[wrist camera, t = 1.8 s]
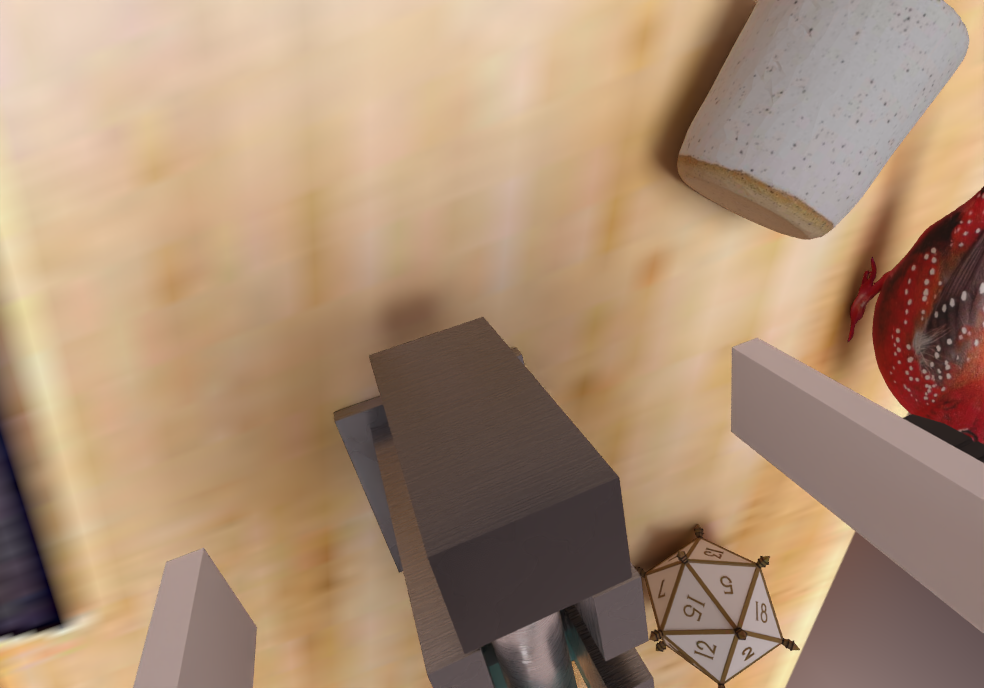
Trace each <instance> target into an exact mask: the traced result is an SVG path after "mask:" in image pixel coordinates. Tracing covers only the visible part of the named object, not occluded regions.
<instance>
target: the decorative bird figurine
mask: <svg viewBox="0 0 984 688" xmlns="http://www.w3.org/2000/svg"><path fill="white" fill-rule="evenodd" d="M871 266H872V271H871V272H869V271H865V273H864V277H863V280H862V284H861V287H860V288H859V293H858V295H857V297H856V298H855V300H854V302H853V303H852V305H851V309H850V317H851V328H850V334H849V338H848V341H847V342H849V341H850V340H851V339H852V337H853V334H854V328H855V324H856V323H857V322H858V320H860V319H861V318H862V317H863V314H864V311H865V308H866V305H867V303H868V302H869V300H871V299H872V298H873V297H874V296H875V295H876V294H877V293H879V292H880V294H879V296H878V299H877V302H876V305H875V311H874V318H873V332H872V337H873V345H874V350H875V356H876V360H877V364H878V367H879V369H880V372H881V374H882V376H883V378H884V380H885V382H886V384H887V386H888V388H889V389H890V391H891V392H892V394H893V395H894V396H895V398H896V399H897V400H898V401H899V403H900V404H901V405H902V406H903V407H904V408H905V409H906V410H907V411H908V412H909V413H911V414H914V415H918V416H921V417H924V418H928V419H931V420H934V421H938V422H941V423H944V424H946V425H948V426H950V427H952V428H954V429H956V430H958V431H960V432H961V433H963V434H965V435H967V436H969V437H971V438H972V440H973V441H974V442H977V441H979V442H980V443H982V444H984V187H983V188H982V189H981V190H980V191H978V192H977V193H976V194H975V195H974V196H973V197H972V198H971V199H970V200H968V201H967V202H966V203H965V204H963V205H961V206H960V207H958V208H957V209H956V210H955V211H953V212H951V213H950V214H948V215H946V216H945V217H944V218H942V219H941V220H939V221H937V222H936V223H934V224H933V225H931V226H930V227H929V228H927V229H926V230H925V231H924V232H923V234H922V235H921V236H920V237H919V239H918V240H917V242H916V243H915V244H914V246H913V247H912V248H911V250H910V251H909V252H908V253H907V255H906V256H905V257H904V258H903V259H902V260H901V261H900V262H899V263H898V264H897V265H896V266H895V267H894V268H893V269H892V270H891V271H889V272H887V273H886V274H884V275H883V277H881V279H880V280H878V281H877V282H876V283H874V282H873V281H874V279H875V277H876V265H875V262H874V259H873V257H872V259H871ZM869 273H871V274H870V276H869V279H867V277H868V274H869ZM873 283H874V285H873Z"/></svg>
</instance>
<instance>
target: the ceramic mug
mask: <svg viewBox="0 0 984 688" xmlns="http://www.w3.org/2000/svg"><path fill="white" fill-rule="evenodd" d="M968 45H969V36H968V31H967V29H966V26H965V24H964V23H963V22H962V21H961V17H960V16H959V15H958V14H957V13H956V12H955V10H954V9H953V8H952V7H950V6H949V5H948V4H946V3H945V2H944V1H943V0H758V1H757V3H756V5H755V7H754V9H753V11H752V13H751V15H750V17H749V18H748V20H747V22H746V24H745V26H744V27H743V29H742V31H741V33H740V35H739V36H738V38H737V40H736V42H735V44H734V46H733V48H732V50H731V51H730V53H729V55H728V57H727V59H726V61H725V63H724V65H723V66H722V68H721V70H720V72H719V74H718V76H717V78H716V80H715V82H714V84H713V86H712V87H711V89H710V91H709V93H708V95H707V97H706V98H705V100H704V102H703V104H702V105H701V107H700V109H699V110H698V112H697V114H696V116H695V117H694V119H693V121H692V123H691V125H690V127H689V129H688V131H687V134H686V136H685V139H684V142H683V144H682V147H681V149H680V152H679V156H678V161H677V168H678V173H679V175H680V177H681V179H682V180H683V181H684V182H685V183H686V184H687V185H688V186H690V187H691V188H692V189H694V190H695V191H697V192H698V193H700V194H701V195H703V196H705V197H706V198H708V199H710V200H712V201H713V202H715V203H717V204H719V205H721V206H722V207H724V208H726V209H728V210H730V211H732V212H734V213H736V214H738V215H740V216H742V217H744V218H746V219H748V220H750V221H753V222H755V223H757V224H759V225H762V226H764V227H766V228H769V229H771V230H774V231H776V232H779V233H781V234H785V235H788V236H792V237H796V238H800V239H813V238H817V237H822V236H824V235H825V234H827V233H828V232H829V231H830V230H832V229H833V228H834V227H835V226H836V225H837V224H838V223H839V222H840V221H841V220H842V219H843V218H844V217H845V216H846V215H847V214H848V213H849V212H850V211H851V209H852V208H853V207H854V206H855V205H856V204H857V203H858V201H859V200H860V199H861V198H862V196H863V195H864V194H865V192H866V191H867V190H868V188H869V187H870V185H871V184H872V183H873V181H874V180H875V178H876V177H877V176H878V174H879V173H880V171H881V170H882V168H883V167H884V165H885V164H886V162H887V161H888V160H889V158H890V157H891V155H892V154H893V153H894V151H895V150H896V149H897V148H898V146H899V145H900V144H901V142H902V141H903V140H904V138H905V137H906V136H907V134H908V133H909V132H910V130H911V129H912V128H913V126H914V125H915V124H916V122H917V121H918V120H919V119H920V117H921V116H922V115H923V113H924V112H925V111H926V109H927V108H928V107H929V105H930V104H931V103H932V102H933V100H934V99H935V98H936V96H937V95H938V94H939V92H940V91H941V90H942V88H943V87H944V86H945V84H946V83H947V82H948V80H949V79H950V78H951V76H952V75H953V74H954V72H955V71H956V70H957V68H958V67H959V65H960V64H961V62H962V61H963V59H964V57H965V55H966V52H967V49H968Z"/></svg>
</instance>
